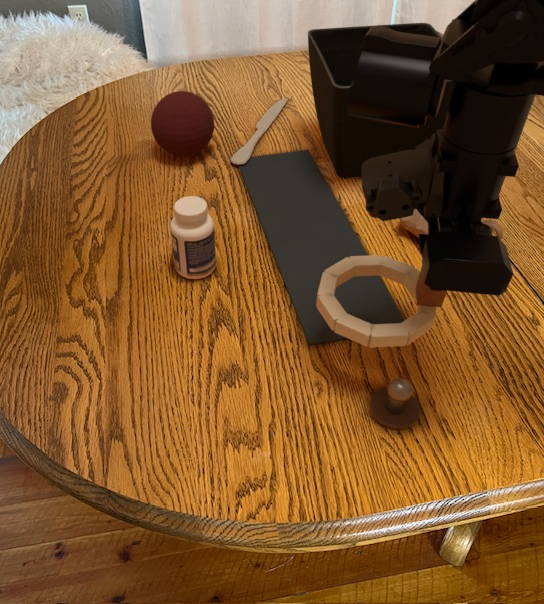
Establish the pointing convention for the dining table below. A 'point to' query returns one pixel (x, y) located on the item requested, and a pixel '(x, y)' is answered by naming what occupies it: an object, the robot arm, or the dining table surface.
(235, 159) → the butter knife
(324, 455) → the dining table surface
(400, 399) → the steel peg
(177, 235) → the pill bottle
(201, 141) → the decorative ball
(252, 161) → the rubber mat
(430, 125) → the flower pot
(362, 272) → the ivory ring
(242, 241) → the dining table surface
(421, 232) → the oil lamp
